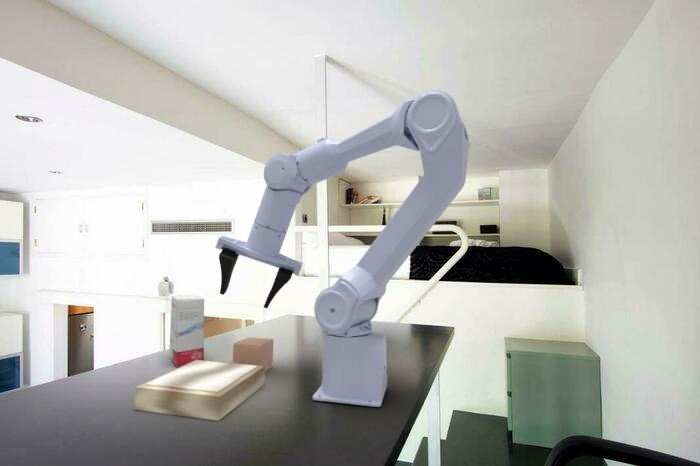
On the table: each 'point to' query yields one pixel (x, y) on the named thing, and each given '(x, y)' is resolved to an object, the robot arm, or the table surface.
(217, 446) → the table surface
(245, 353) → the terracotta cube
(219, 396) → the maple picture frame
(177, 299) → the ink box
